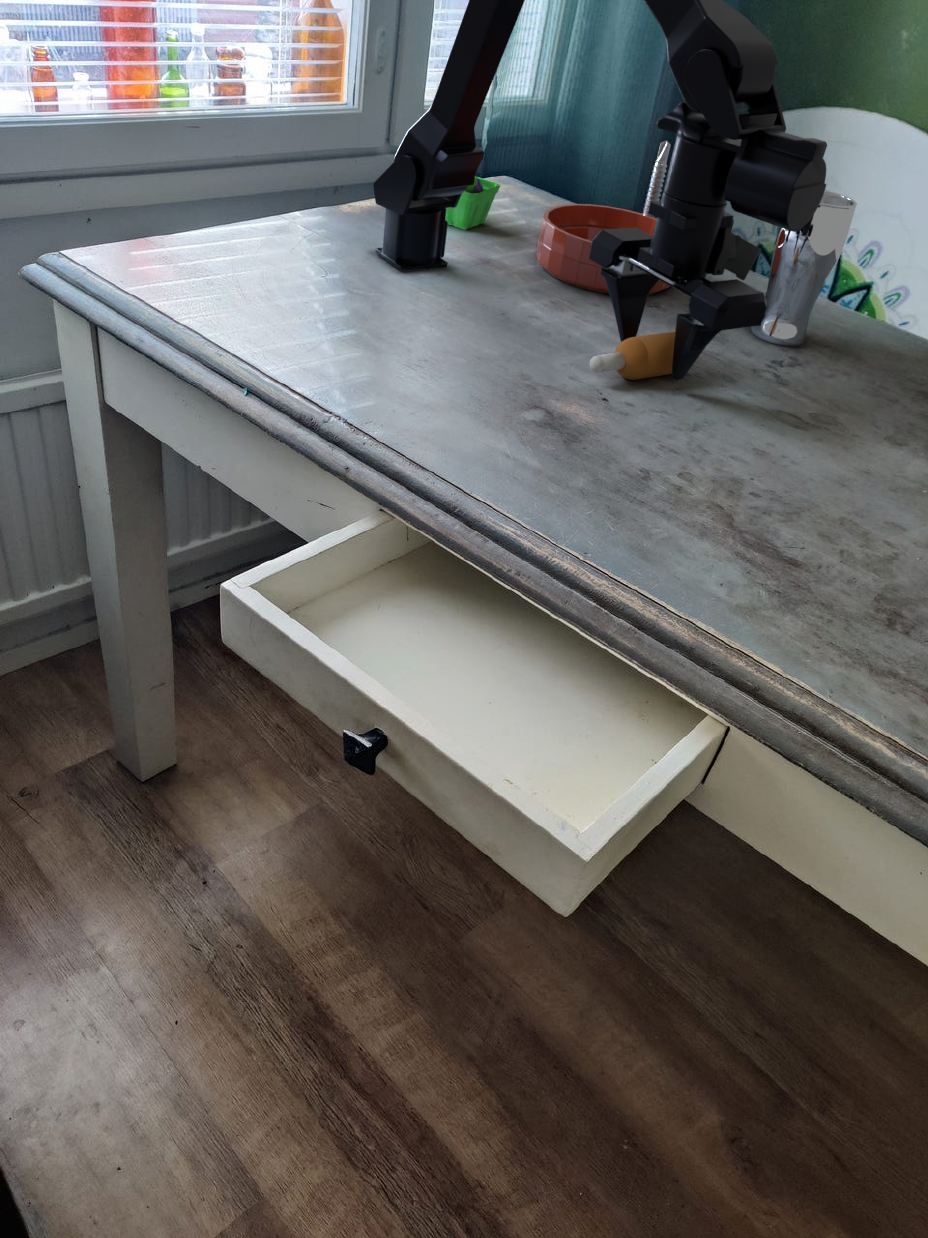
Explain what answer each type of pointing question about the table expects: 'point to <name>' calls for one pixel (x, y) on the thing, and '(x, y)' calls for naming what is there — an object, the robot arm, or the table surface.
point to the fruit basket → (473, 204)
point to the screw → (657, 176)
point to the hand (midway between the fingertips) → (651, 362)
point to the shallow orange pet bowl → (583, 241)
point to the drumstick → (639, 357)
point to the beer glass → (803, 269)
